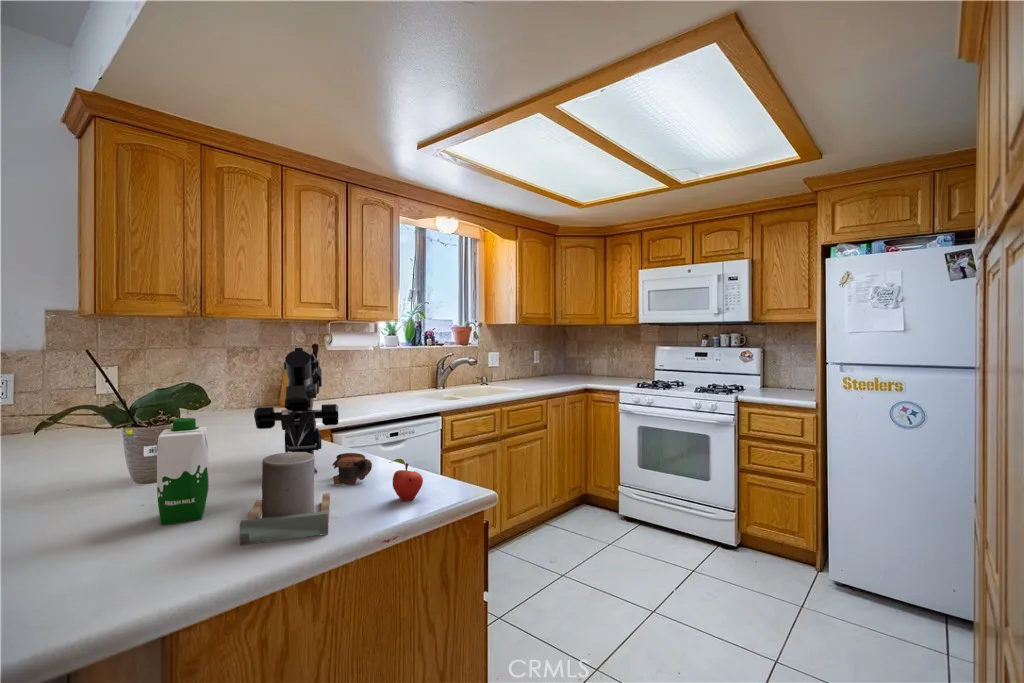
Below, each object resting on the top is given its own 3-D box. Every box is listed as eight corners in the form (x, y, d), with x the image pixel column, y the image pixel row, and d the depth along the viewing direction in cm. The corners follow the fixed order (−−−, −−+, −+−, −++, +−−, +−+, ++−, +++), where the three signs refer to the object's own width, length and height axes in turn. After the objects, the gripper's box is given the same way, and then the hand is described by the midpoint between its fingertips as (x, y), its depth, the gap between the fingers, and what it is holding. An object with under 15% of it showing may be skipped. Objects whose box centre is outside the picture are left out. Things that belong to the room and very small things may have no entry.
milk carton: (210, 506, 108) (209, 416, 107) (206, 520, 100) (205, 423, 99) (161, 512, 104) (161, 419, 103) (153, 528, 96) (153, 427, 95)
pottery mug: (321, 486, 124) (325, 454, 128) (346, 493, 131) (349, 462, 135) (360, 479, 120) (363, 446, 124) (383, 486, 127) (385, 455, 132)
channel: (256, 509, 106) (256, 491, 106) (329, 501, 111) (329, 484, 111) (239, 545, 89) (239, 523, 89) (327, 534, 94) (327, 513, 94)
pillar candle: (250, 533, 94) (250, 456, 93) (280, 514, 104) (281, 444, 103) (297, 537, 93) (297, 459, 92) (323, 517, 102) (324, 446, 102)
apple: (408, 492, 118) (408, 451, 118) (428, 498, 114) (428, 456, 114) (383, 501, 112) (383, 458, 112) (403, 508, 108) (404, 463, 108)
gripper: (255, 373, 116) (247, 428, 106) (338, 372, 122) (338, 423, 112) (260, 401, 124) (253, 455, 114) (338, 398, 130) (338, 449, 120)
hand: (296, 445), depth 114 cm, fingers closed
